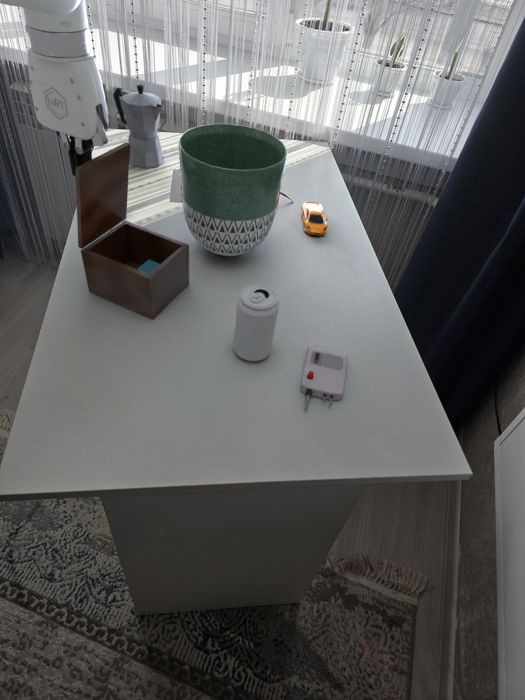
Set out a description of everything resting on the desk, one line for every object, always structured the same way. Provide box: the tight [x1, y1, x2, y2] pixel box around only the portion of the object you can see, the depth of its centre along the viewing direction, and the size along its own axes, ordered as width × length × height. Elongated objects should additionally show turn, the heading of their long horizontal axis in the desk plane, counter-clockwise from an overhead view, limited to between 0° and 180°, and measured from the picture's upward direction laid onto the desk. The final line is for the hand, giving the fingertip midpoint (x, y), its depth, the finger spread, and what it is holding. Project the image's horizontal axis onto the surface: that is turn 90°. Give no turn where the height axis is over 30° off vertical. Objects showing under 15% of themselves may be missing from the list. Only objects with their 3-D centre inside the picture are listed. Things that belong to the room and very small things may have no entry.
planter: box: [178, 123, 288, 257], centre depth 91 cm, size 20×20×21 cm
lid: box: [75, 141, 130, 250], centre depth 76 cm, size 15×12×1 cm
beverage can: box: [232, 283, 280, 362], centre depth 74 cm, size 6×6×12 cm
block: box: [136, 260, 160, 275], centre depth 84 cm, size 5×5×5 cm
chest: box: [80, 219, 190, 321], centre depth 83 cm, size 14×12×9 cm
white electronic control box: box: [299, 344, 348, 410], centre depth 75 cm, size 7×16×3 cm, turn 168°
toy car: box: [301, 201, 329, 237], centre depth 108 cm, size 6×12×3 cm, turn 2°
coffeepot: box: [112, 84, 165, 169], centre depth 116 cm, size 15×9×18 cm, turn 58°
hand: (83, 173), depth 75 cm, fingers closed
